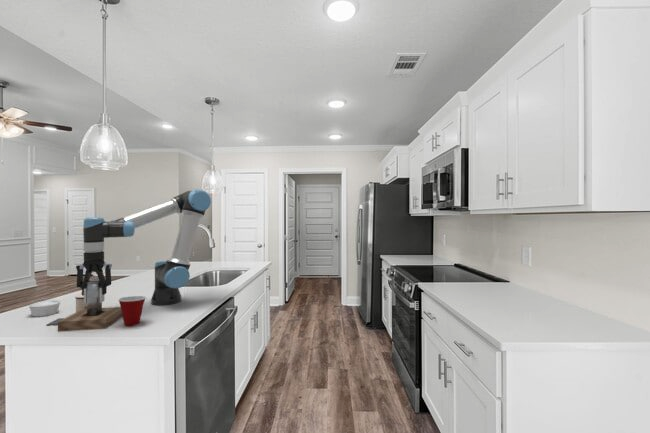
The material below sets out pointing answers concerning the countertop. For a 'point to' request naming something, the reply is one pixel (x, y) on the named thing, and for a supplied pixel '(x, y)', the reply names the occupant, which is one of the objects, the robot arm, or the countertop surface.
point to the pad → (54, 322)
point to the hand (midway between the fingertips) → (94, 301)
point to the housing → (90, 320)
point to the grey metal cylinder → (93, 298)
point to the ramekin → (44, 308)
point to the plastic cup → (131, 309)
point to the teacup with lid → (80, 303)
